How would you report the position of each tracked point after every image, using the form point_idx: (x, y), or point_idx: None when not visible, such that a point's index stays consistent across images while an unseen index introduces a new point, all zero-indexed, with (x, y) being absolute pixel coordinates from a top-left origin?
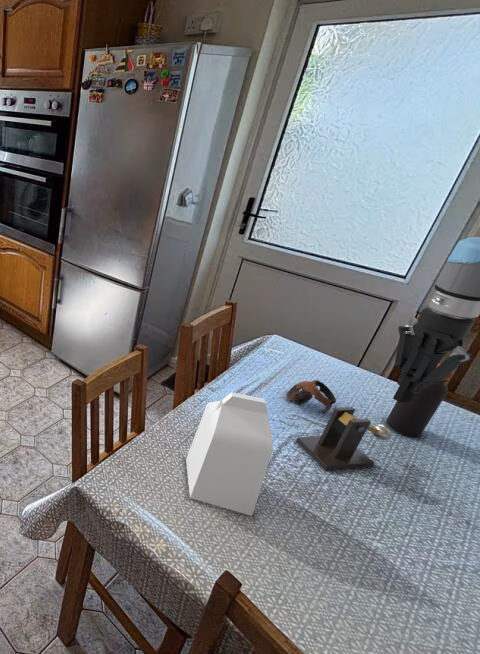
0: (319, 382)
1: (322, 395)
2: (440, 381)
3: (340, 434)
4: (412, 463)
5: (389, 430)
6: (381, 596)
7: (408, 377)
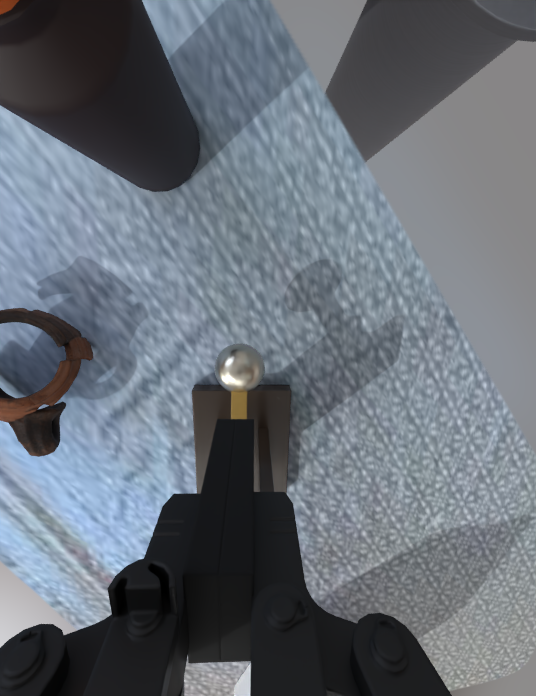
0: None
1: (46, 395)
2: (440, 685)
3: None
4: (291, 270)
5: (252, 367)
6: (496, 573)
7: (214, 653)
